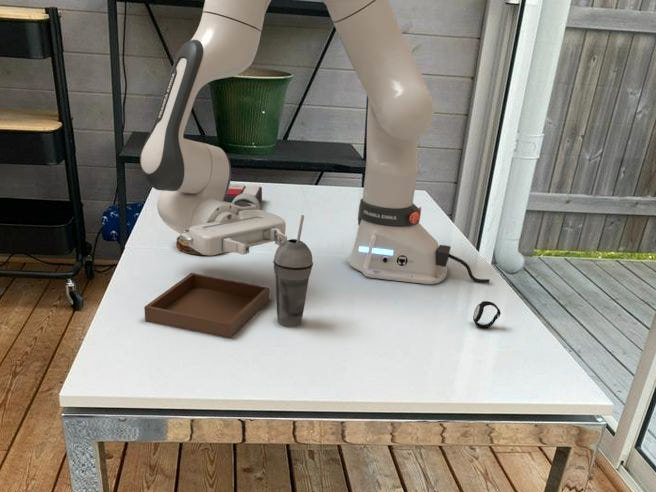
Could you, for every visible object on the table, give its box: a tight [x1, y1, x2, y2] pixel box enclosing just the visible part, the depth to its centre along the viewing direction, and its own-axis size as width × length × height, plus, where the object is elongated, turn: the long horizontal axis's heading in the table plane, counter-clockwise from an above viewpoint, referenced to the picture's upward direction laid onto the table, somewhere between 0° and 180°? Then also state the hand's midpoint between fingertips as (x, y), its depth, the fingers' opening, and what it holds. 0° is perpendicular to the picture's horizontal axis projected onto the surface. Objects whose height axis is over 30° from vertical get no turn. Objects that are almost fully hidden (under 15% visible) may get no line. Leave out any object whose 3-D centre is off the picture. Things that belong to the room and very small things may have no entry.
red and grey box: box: [224, 183, 263, 205], centre depth 206 cm, size 11×4×15 cm
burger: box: [175, 235, 204, 256], centre depth 174 cm, size 12×12×8 cm
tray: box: [144, 272, 271, 340], centre depth 145 cm, size 17×20×3 cm
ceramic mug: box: [232, 193, 261, 210], centre depth 190 cm, size 11×8×8 cm
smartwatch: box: [472, 300, 502, 330], centre depth 148 cm, size 4×5×5 cm
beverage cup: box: [272, 214, 314, 328], centre depth 139 cm, size 7×7×20 cm
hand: (265, 245), depth 142 cm, fingers open, 8 cm apart
